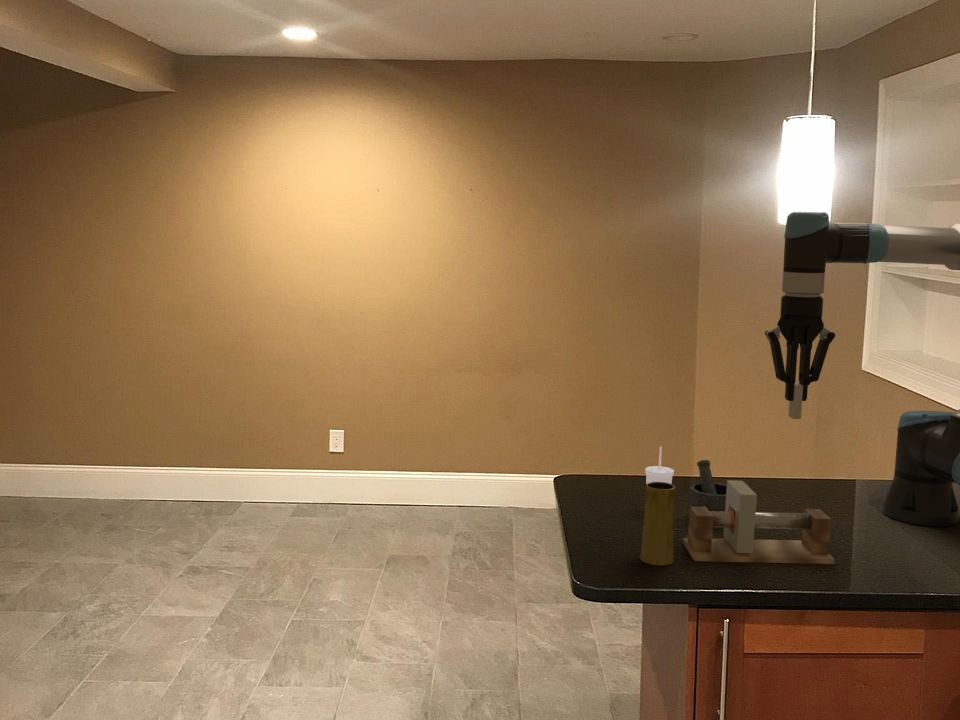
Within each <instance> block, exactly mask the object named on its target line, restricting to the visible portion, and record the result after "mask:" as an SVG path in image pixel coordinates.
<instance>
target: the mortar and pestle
mask: <svg viewBox="0 0 960 720" xmlns="http://www.w3.org/2000/svg"><path fill="white" fill-rule="evenodd" d="M696 466H697V468H698V470H699V471H698V472H699V479H700V480H699V481H700V482H698V483H693V484H691V486H690V487H689V500H690V504H691V506H699V507H706V508H707V509H708V510H709V511H725V505H726V490H727V484H723V483H717V482H714V478H713V473H712V469H711V461H710V460H709V459H704V460H703V459H701V460H699V461H697V462H696Z"/></svg>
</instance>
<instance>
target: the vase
mask: <svg viewBox="0 0 960 720" xmlns="http://www.w3.org/2000/svg"><path fill="white" fill-rule="evenodd" d="M645 486H646V487H645V488H646V489H645V503H644V517H643V527H642V538H641V546H640V547H641V549H640V555H639V559H640V561H641V562H643V563H644V564H648V565H651V566H657V567H659V566H660V567H662V566H663V567H664V566H670V565H672V564H673V563H674V560H675V559H674V517H675V502H676V486H675V484H673V483H671V484H670V483H666V482H650V483H647V485H646V484H645Z"/></svg>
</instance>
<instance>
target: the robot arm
mask: <svg viewBox="0 0 960 720" xmlns="http://www.w3.org/2000/svg"><path fill="white" fill-rule="evenodd" d="M783 236H784V250H783V268H782V283H781V285H782V286H781V291H782V292H783V293H784V294H783V295H782V296H781V297H780V298H781V300H780V311H779V312H780V316H779V320H778V322H777V325H776V326H775V327H774V328H772V329H771V330H769V329H768V330H765V332H764V335H765V336H766V338H767V340H768V342H769V346H770V352H771V356H772V361H773V362H772V363H773V367H774V375H775V378H776V379H777V380H778V381H780V382H783V383H784V384H785V388H784V389H785V390H784V391H785V392H784V398H785V399H784V400H786V401H787V402H789V405H788V417H789V418H791V419H793V420H802V411H803V410H802V408H803V407H802V406H803V402H806V401H807V399H808V387H809V386H810V385H811V383H814V382H818V381H819V378H820V376H821V372H822V369H823V366H824V363H825V360H826V356H827V355H828V354H827V353H828V351H829V347H830V344H831V343H832V342H833V340H834V339H835V338H836V333H835V332H833V331H831V330H829V329H827V328H826V327H824V326H825V324H824V321H823V319H822V318H823V310H824V309H823V308H824V307H823V306H824V298H823V297H822V296H821V295H822V294H823V293H825V277H826V273H825V272H826V264H832V263H833V264H838V263H839V264H864V265H866V264H869V263H870V264H874V263H897V264H914V265H915V264H918V265H938V266H939V265H941V266H945V267H946V269H949V270H950V271H960V223H955V224H952V225H950V226H949V227H935V226H934V227H933V226H931V227H930V226H911V225H894V224H893V225H892V224H891V225H889V224H881V223H870V222H838V221H837V222H836V221H835V222H832V221H830V218H829V214H828V213H827V212H825V211H824V212H823V211H822V212H821V211H820V212H819V211H793V212H791V213H788V215H787V217H786V223H785V230H784V234H783ZM781 334H782V336H783V338H784V339H785V341H786V360H785V361H786V362H785V363H784V359H783V358H784V357H783V352H782V347H781V343H780V338H781ZM817 337H819V340H818V341H817V346H816V348H815V351H814V355H813V359H812V362H811V358H812V357H811V356H812V349H813V342H814V341H815V340H816V338H817ZM799 348H800V350H799ZM798 350H799V351H800V352H799V366H798V382H796V379H797V378H796V377H797V364H798ZM954 484H956V485H958V486H959V487H960V408H959V409H957V410H955V411H953V412H952V411H942V410H941V411H937V410H909V411H905V412H903V413H901V415H900V417H899V421H898V426H897V439H896V450H895V461H894V474H893V479H892V481H891V483H890V484H889V488H888V490H887V491H886V493H885V496H884V498H883V501H882V506H881V507H882V508H881V511H882V513H883V514H884V515H885V516H887V517H888V518H889V517H890V518H892V519H894V520H896V521H900V522H903V523H908V524H913V525H919V526H927V527H929V526H930V527H947V526H953V525H955V524H957V523H958V522H959V517H960V510H959V505H958V501H957V497H956V493H955V489H954Z"/></svg>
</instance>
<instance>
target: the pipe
mask: <svg viewBox="0 0 960 720" xmlns="http://www.w3.org/2000/svg"><path fill="white" fill-rule="evenodd" d="M709 512H710V513H711V514H712V515H713V528H724V527H725V528H728V529H734V528H735V513H736V511H735V510H728V511H709ZM811 526H812V518H811V515H810V514H809V513H804V512H767V511H765V512H763V511H762V512H761V511H756V516H755V529H780V530H781V529H782V530H785V529H786V530H803V529H811Z"/></svg>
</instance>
